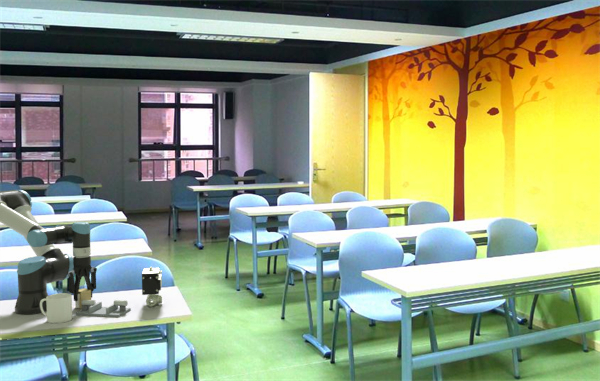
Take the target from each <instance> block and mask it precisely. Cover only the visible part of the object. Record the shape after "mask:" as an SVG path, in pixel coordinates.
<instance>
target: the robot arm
mask: <svg viewBox="0 0 600 381" xmlns="http://www.w3.org/2000/svg"><path fill="white" fill-rule="evenodd" d="M32 206H33V202H32V198H31V195H30V194H29V193H28V192H27V191H25V190H23V189H12V190H11V189H10V190H0V223H1V224H3V225H5V226H6V227H8V228H10V229H11V230H13V231H15V232H16V233H18V234H20V235H21V236H23V237H24V239H25V241H26V242H27V243H28V245H29V246H30V248H31V249H32V251H33V252H34V254H35V255H36V256H32V257H27V258H23V259H21V260H20V261H19V262H18V263H17V270H16V272H17V273H16V274H17V287H18V288H17V289H18V290H17V293H18V295H17V298H16V299H17V300H16V303H15V305H14V313H15V314H18V315H33V314H34V315H35V314H41V313H42V312H41V309H40V301H41V300H42V299H46V297H47V296H49V294H48V290H47V287H48V285H47V284H53V283H56V282H59V281H64V280H66V279H67V280H68V292H69V294H71V295H73V301H74V303H75V308H76V309H79V308H80V298H79V294H78V291H79V289H80V285H81V280H82V278H84V282H85V285H86V289H90V290H91V299H92V298H93V292H94V290H95V289H97V271H98V268H97V267H95V266H94V267H92V257H91V227H90V223H89V222H88V221H77V222H73V223H72V225H66V224H57V225H55V226H53V227H47V228H46V227H43V226H42V225H40V224H39V223H38V221H37V219H36V218H35V216H34V215H33V214H32V211H33V210H32ZM61 243H72V255H71V254H68V253H63V251H62V250H61V248H59V247H55V245H57V244H61ZM74 275H75V277H74ZM42 307H43V310H44V312H45V313H46V312H47V305H46V301H43V303H42Z"/></svg>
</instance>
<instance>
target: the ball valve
mask: <svg viewBox="0 0 600 381" xmlns="http://www.w3.org/2000/svg"><path fill="white" fill-rule="evenodd" d="M162 275H163V270H160V267H153V266H150V267H143V270H142V273H141V293H142V294H141V295H142V296H146V295H147V297H146V299H145V303H146V306H148V307H155V306H156V305H157V306H159V305H161V304H162V303H163V295H160V291H161V290H162V285H163V276H162Z"/></svg>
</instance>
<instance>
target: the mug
mask: <svg viewBox="0 0 600 381" xmlns="http://www.w3.org/2000/svg"><path fill="white" fill-rule="evenodd" d="M72 295H73V294H72V293H67V292H66V293H65V292H64V293H63V292H62V293H54V294H50V295H49V294H48V296H47V297H46V299H42V300H41V301H40V309H41V313H42V315H44V316H46V321H47V323H49V324H63V323H67V322H70V321H72V320H73V298H72ZM43 301H46V305H47V311H45V312H44V310H43V307H42V303H43Z"/></svg>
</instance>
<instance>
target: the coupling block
mask: <svg viewBox="0 0 600 381" xmlns="http://www.w3.org/2000/svg"><path fill="white" fill-rule="evenodd" d="M78 294H79V298H80V308H78V310H81V306H83V305H82V304H81V302H82V300H92V298H91V290H90V289H87V287H84V288H79V291H78Z"/></svg>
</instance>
